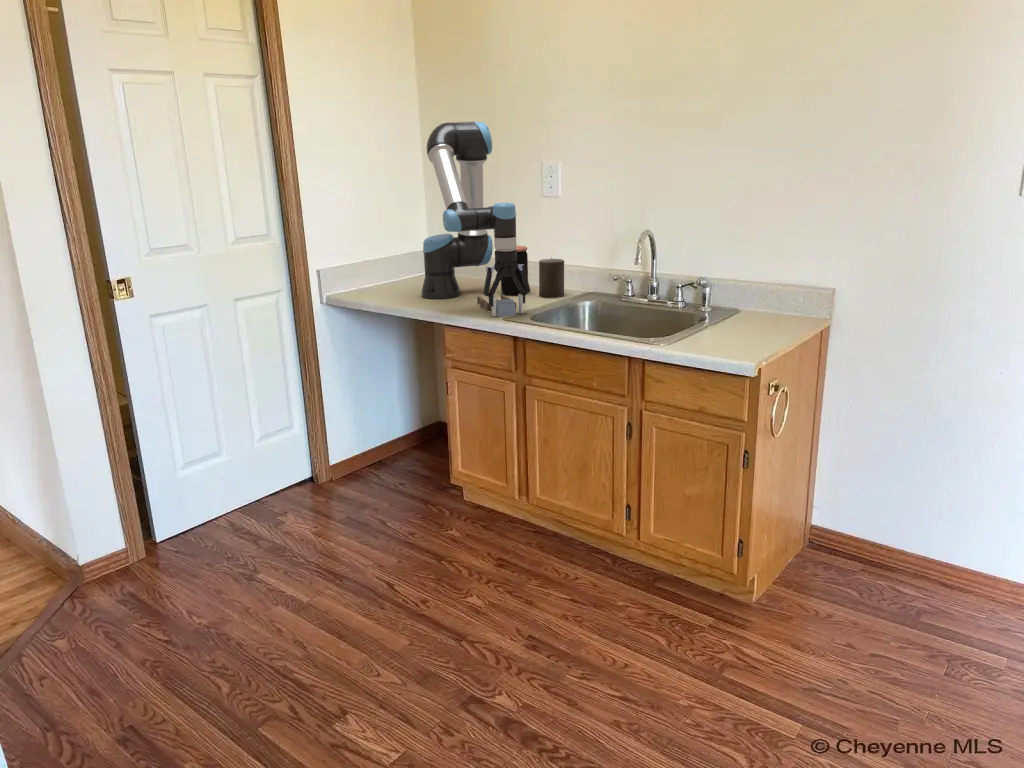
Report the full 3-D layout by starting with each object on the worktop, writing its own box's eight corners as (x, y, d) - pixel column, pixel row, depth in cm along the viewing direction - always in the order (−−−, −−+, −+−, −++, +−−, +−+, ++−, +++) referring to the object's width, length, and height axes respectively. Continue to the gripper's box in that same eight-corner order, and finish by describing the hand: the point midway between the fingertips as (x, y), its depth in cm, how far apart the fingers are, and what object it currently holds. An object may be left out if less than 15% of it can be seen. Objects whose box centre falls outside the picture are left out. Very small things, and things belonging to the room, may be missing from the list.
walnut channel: (477, 303, 295) (477, 296, 294) (504, 300, 297) (503, 294, 297) (488, 312, 280) (488, 305, 279) (516, 309, 283) (516, 302, 282)
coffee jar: (529, 295, 306) (528, 249, 300) (502, 296, 305) (500, 250, 299) (527, 290, 316) (526, 245, 310) (500, 291, 315) (499, 246, 309)
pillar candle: (555, 299, 298) (555, 259, 293) (534, 296, 303) (533, 257, 299) (569, 295, 305) (569, 256, 301) (548, 292, 311) (548, 254, 306)
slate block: (496, 312, 281) (495, 299, 279) (512, 311, 281) (512, 299, 280) (498, 318, 272) (497, 305, 271) (515, 317, 273) (515, 304, 271)
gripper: (532, 246, 274) (533, 309, 281) (471, 250, 269) (474, 314, 276) (539, 248, 268) (540, 313, 274) (477, 253, 262) (479, 319, 269)
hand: (507, 314), depth 275 cm, fingers open, 9 cm apart
